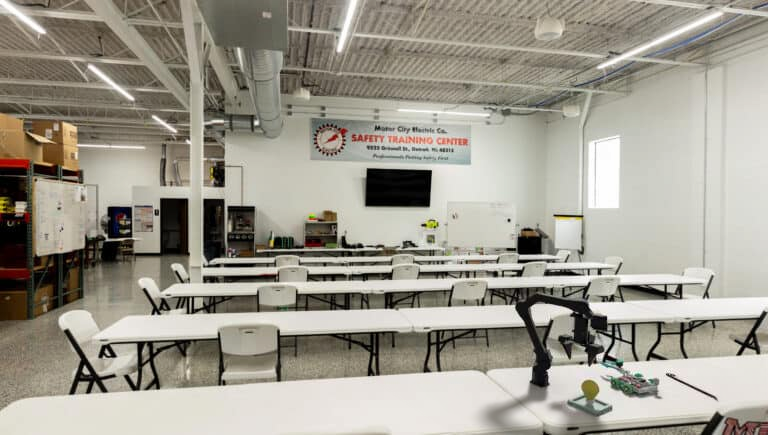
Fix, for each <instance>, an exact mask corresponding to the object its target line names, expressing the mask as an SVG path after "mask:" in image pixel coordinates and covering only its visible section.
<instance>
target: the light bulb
mask: <svg viewBox="0 0 768 435" xmlns="http://www.w3.org/2000/svg"><path fill="white" fill-rule="evenodd" d="M580 387H581V391H582V394H583V393H584V395H585V396H586V398H585V401H586V404H587V405H589V406H593V403H594V400H593V399H594V398H596V397H597V396H598V395H599V393H600V387H599V385H598V383H597V382H596V381H594V380H592V379H586V380H583V381H582V383H581V386H580Z"/></svg>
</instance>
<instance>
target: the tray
mask: <svg viewBox="0 0 768 435" xmlns="http://www.w3.org/2000/svg"><path fill="white" fill-rule="evenodd" d="M585 398H586V396H585V395H584V393H583V392H582V393H581V394H578V395H576V396H574V397H571V398H568V399H567V404H568V405H570V406H573V407H575V408H576V409H579V410H581V411H583V412H586V413H587V414H590V415H592V416H593V417H594V416H595V417H597V416H599V415H602V414H603V413H606V412H608V411H610V410H613V404H610V403H608V402H607V401H604V400H601V399H599V398H598V397H597V398H596V397H595V398H594V399H593V400H594V403H593V406H589V405H587V404H586V401H585Z"/></svg>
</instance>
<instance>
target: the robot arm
mask: <svg viewBox="0 0 768 435" xmlns="http://www.w3.org/2000/svg"><path fill="white" fill-rule="evenodd" d="M537 303H542V304H543V303H544V304H548V305H553V306H556V307H557V306H558V307H561V308H566V309H568V310H570V311H572V313H570V314H569V317H571V318H574V319H573V329H571V332H572V333H573V335H570V334H567V333H565V334H559V335H558V337H557V342H558V343H559V344H560V345H561V346H562V347H563V349H564V351H565V354H566V356H567V358H568V361H569V360H571V359H572V348H573V347H572V346H573V345H577V346H578V347H579V346H580V347H582V348H587V350H588V352H587V366H588V368H589V367H591V366H592V365H593V363H594V360H595V358H596V356H597V355H600V354H603V353H605V347H604V346H603V345H602V344H599V343H596V337H597V336H596V335H594V334H591V331H590V330H589V328H591V329H592V331H598V332H605V333H607V332H608V327H609V325H608V315H604V314H594V311H592V309H591V308H590V304H589V301H588V300H586V299H585V298H582V297H581V298H580V297H577V298H576V297H573V298H567V297H563V296H557V295H554V294H553V295H552V294H549V293H543V292H540V291H535V293H533V294H532V295H529V296H528V297H526V298H525V299H524V298H522V299H519V300H518V301H517V302H516V304H515V306H514V309H515V311H516V313H517V314H518V316H519V317H520V319H521V321H523V322H524V326H525V329H526V330H527V333H528V335H529V338H530V340H531V343H532V345H533V348H534V351H535V359H536V360H535V361H534V363H533V365H532V368H531V380H529V383H530V384H533V385H535V386H538V387H540V388H543V387H547V386H550V382H549V377H550V376H549V372H548V371H549V370H550V369H551V367H552V364H553V359H554V356H553V355H552V353H551V349H550V348H549V349H547V348H546V347H545V345H544V344H543V343H544V342H543V341H542V339H541V336H540V334H539V331H538V329H537V327H536V324H535V321H534V319H533V315H532V307H533V306H534V305H536V304H537ZM589 322H590V324H589ZM591 343H592V344H591Z"/></svg>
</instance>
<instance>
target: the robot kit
mask: <svg viewBox="0 0 768 435" xmlns="http://www.w3.org/2000/svg"><path fill="white" fill-rule="evenodd" d="M600 364H601V365H602V366H603V367H605V368H607V369H608V368H610V369H613V370H616V372H619V374H622V375H621V376H618V377H611V378H610V382H609V383H610V385H611V386H612V387H613V388H616V389H617V388H622V389H623V390H622V391H623V392H624V393H625V394H627V395H631V394H633V393H637V394H639V395H640V394H644V393H648V392H652V391H657V390H658V388H659V387H658V386H659V385H660V379H659V378H658V377H654V378H649V379H646V378H645V377H644V375H643V374H642V373H638V372H637V373H635V374H633V373H631V371H630V370H628V369H626V368H623V366H624V360H622V359H618V360H615V362H614V361H612V360H611V361H610V360H605V362H604V361H600Z"/></svg>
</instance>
